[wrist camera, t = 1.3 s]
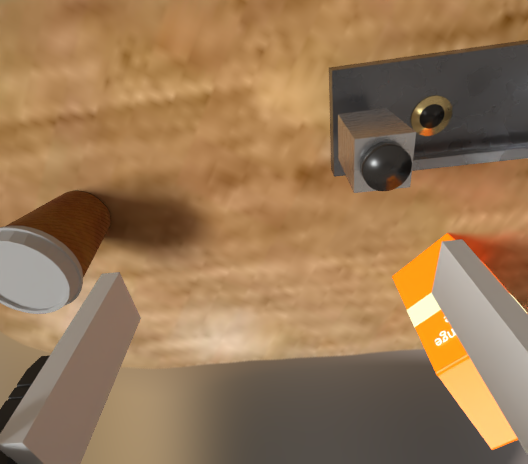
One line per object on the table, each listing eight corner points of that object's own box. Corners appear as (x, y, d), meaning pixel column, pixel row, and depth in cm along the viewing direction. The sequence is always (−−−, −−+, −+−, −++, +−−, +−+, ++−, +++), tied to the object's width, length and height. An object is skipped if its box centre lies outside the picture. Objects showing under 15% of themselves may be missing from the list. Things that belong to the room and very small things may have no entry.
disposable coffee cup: (59, 161, 37) (-23, 215, 27) (138, 209, 40) (91, 274, 30) (32, 219, 41) (-48, 285, 31) (105, 258, 44) (54, 331, 34)
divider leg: (378, 101, 30) (421, 136, 21) (376, 145, 32) (414, 193, 23) (333, 107, 30) (357, 144, 22) (334, 150, 32) (356, 199, 24)
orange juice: (390, 276, 44) (462, 435, 27) (447, 232, 40) (571, 386, 23) (429, 303, 47) (517, 465, 30) (486, 263, 43) (624, 424, 26)
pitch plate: (661, 21, 28) (905, 23, 17) (611, 137, 34) (774, 195, 23) (328, 67, 31) (358, 95, 20) (331, 169, 36) (355, 234, 25)
